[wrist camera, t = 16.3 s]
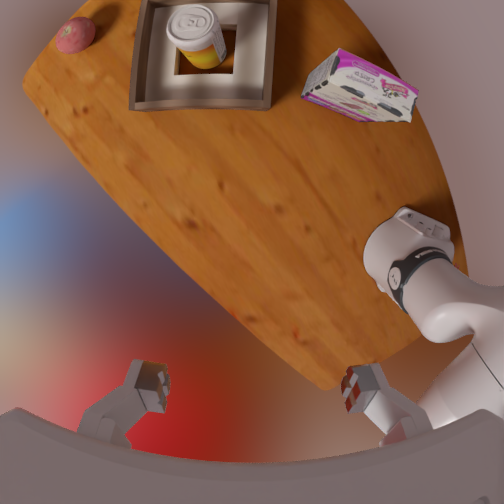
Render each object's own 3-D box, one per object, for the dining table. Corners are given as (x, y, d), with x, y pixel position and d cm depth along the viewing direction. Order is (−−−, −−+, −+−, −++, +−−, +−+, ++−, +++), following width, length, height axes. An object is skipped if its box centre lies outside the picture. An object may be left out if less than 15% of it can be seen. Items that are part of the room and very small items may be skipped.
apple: (78, 24, 28) (56, 15, 21) (107, 22, 29) (87, 10, 22) (66, 57, 31) (42, 52, 24) (94, 56, 32) (71, 49, 25)
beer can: (193, 37, 33) (170, 1, 19) (230, 40, 33) (222, 3, 20) (185, 68, 35) (158, 43, 22) (222, 71, 36) (211, 45, 22)
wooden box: (273, 7, 30) (277, -10, 24) (266, 111, 39) (270, 107, 33) (155, 10, 29) (142, -4, 23) (145, 111, 38) (128, 110, 32)
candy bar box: (367, 97, 37) (421, 90, 23) (359, 122, 39) (411, 125, 25) (307, 72, 36) (339, 45, 21) (298, 98, 38) (327, 82, 23)
